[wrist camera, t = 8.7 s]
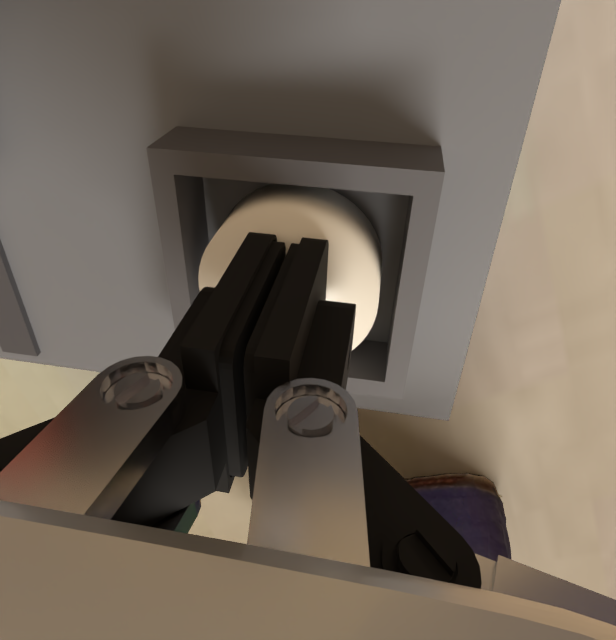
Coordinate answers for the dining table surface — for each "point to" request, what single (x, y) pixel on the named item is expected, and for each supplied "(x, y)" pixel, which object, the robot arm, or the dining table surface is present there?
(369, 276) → the ivory button
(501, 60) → the panel
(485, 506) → the flask
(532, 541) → the dining table surface
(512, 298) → the dining table surface
